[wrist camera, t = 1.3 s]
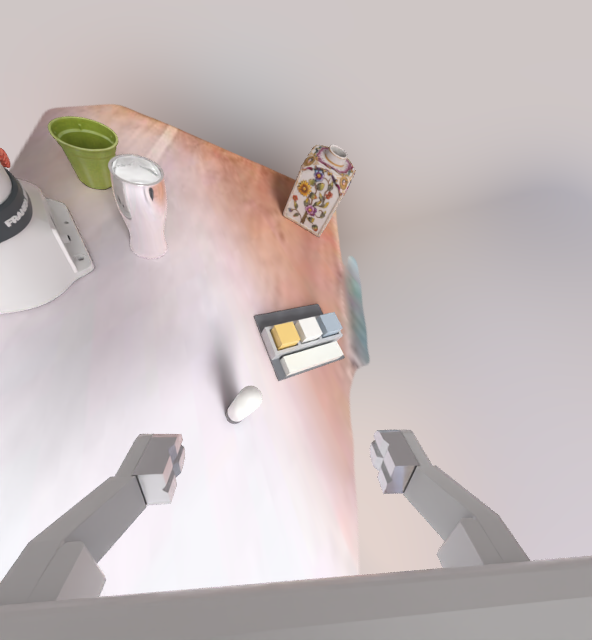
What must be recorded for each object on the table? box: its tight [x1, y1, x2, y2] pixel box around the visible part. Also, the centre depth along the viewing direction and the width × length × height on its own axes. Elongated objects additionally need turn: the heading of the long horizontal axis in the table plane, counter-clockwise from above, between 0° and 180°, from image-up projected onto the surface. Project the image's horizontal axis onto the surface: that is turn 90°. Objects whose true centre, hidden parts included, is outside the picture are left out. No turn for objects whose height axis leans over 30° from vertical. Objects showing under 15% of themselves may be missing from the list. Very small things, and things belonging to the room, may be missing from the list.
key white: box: [294, 317, 323, 344], centre depth 46 cm, size 4×4×3 cm
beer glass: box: [108, 154, 168, 259], centre depth 40 cm, size 7×7×15 cm
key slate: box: [316, 312, 342, 338], centre depth 48 cm, size 4×4×3 cm
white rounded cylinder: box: [226, 386, 262, 424], centre depth 33 cm, size 3×3×11 cm
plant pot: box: [48, 116, 118, 189], centre depth 46 cm, size 9×9×9 cm
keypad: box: [254, 304, 345, 381], centre depth 47 cm, size 13×15×3 cm
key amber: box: [270, 322, 301, 351], centre depth 43 cm, size 4×4×3 cm
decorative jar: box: [283, 145, 355, 237], centre depth 62 cm, size 12×12×18 cm
